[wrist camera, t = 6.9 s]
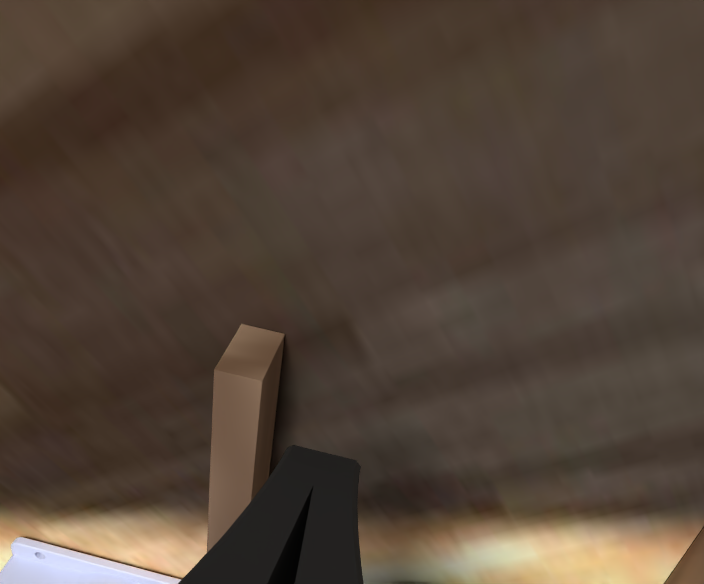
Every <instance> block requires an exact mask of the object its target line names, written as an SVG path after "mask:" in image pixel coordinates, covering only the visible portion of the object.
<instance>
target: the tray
mask: <svg viewBox="0 0 704 584" xmlns="http://www.w3.org/2000/svg"><path fill="white" fill-rule="evenodd" d="M284 337H285V334H282V333H278V332H274V331H270V330H265V329H261V328H257V327H253V326H248V325H244V324H241V326H240V327H239V329H238V331H237V332H236V334H235V336H234V337H233V339H232V341H231V343H230V344H229V346H228V348H227V349H226V351H225V353H224V354H223V356H222V358H221V359H220V361H219V363H218V364H217V366H216V368H215V369H214V390H213V415H212V440H211V465H210V490H209V515H208V540H207V553H208V551H209V550H210V549H211V548H212V547H213V546H214V545H215V544H216V543H217V542H218V541H219V539H220V538H221V537H222V536H223V535H224V534H225V533H226V532H227V530H228V529H229V528H230V527H231V526H232V524H233V523H234V522H235V521H236V519H237V518H238V517H239V516H240V515H241V513H242V512H243V511H244V510H245V508H246V507H247V506H248V505H249V503H250V502H251V501H252V500H253V498H254V497H255V496H256V494H257V493H258V492H259V490H260V489H261V488H262V486H263V485H264V484H265V482H266V481H267V479H268V478H269V470H270V461H271V452H272V443H273V434H274V425H275V417H276V408H277V399H278V390H279V381H280V372H281V364H282V355H283V346H284ZM665 584H704V528H703V529H702V531H701V532H700V534H699V535H698V536H697V538H696V539H695V541H694V542H693V544H692V545H691V546H690V548H689V549H688V551H687V552H686V554H685V555H684V556H683V558H682V559H681V561H680V562H679V564H678V565H677V566H676V568H675V569H674V571H673V572H672V574H671V575H670V576H669V578H668V579H667V581H666V582H665Z"/></svg>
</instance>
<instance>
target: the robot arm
mask: <svg viewBox="0 0 704 584" xmlns="http://www.w3.org/2000/svg"><path fill="white" fill-rule="evenodd" d="M360 468H361V466H360V465H359V464H358V462H357V461H356V460H352V459H348V458H344V457H340V456H336V455H332V454H328V453H324V452H320V451H316V450H312V449H308V448H303V447H299V446H295V445H293V446H291V447H288V448H287V449H286V451H285V453H284V455H283V457H282V458H281V460H280V461H279V463H278V465H277V466H276V468H275V469H274V471H273V472H272V474H271V475H270V477H269V478H268V479H267V481H266V482H265V484H264V485H263V486H262V488H261V489H260V490H259V492H258V493H257V494H256V496H255V497H254V498H253V500H252V501H251V502H250V503H249V505H248V506H247V507H246V508H245V510H244V511H243V512H242V513H241V515H240V516H239V517H238V518H237V519H236V521H235V522H234V523H233V524H232V526H231V527H230V528H229V529H228V530H227V532H226V533H225V534H224V535H223V536H222V537H221V538H220V539H219V541H218V542H217V543H216V544H215V545H214V546H213V547H212V548H211V549H210V550H209V551H208V553H207V554H206V555H205V556H204V557H203V558H202V559H201V560H200V561H199V562H198V563H197V565H196V566H195V567H194V568H193V569H192V570H191V571H190V572H189V573H188V574H187V575H186V576H185V577H184V578H183V579H182V580H181V579H177V578H173V577H170V576H166V575H162V574H158V573H155V572H151V571H147V570H143V569H140V568H136V567H132V566H129V565H125V564H121V563H117V562H114V561H110V560H106V559H102V558H99V557H95V556H91V555H88V554H84V553H80V552H76V551H73V550H69V549H65V548H61V547H58V546H54V545H50V544H47V543H43V542H39V541H35V540H32V539H28V538H24V537H18V538H16V539H15V540H14V542H13V543H12V544H11V549H12V554H13V556H12V557H11V558H10V560H9V561H8V562H7V564H6V565H5V566H4V568H3V569H2V570H1V572H0V584H363V577H362V568H361V558H360V548H359V536H358V512H357V498H358V481H359V473H360Z"/></svg>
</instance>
